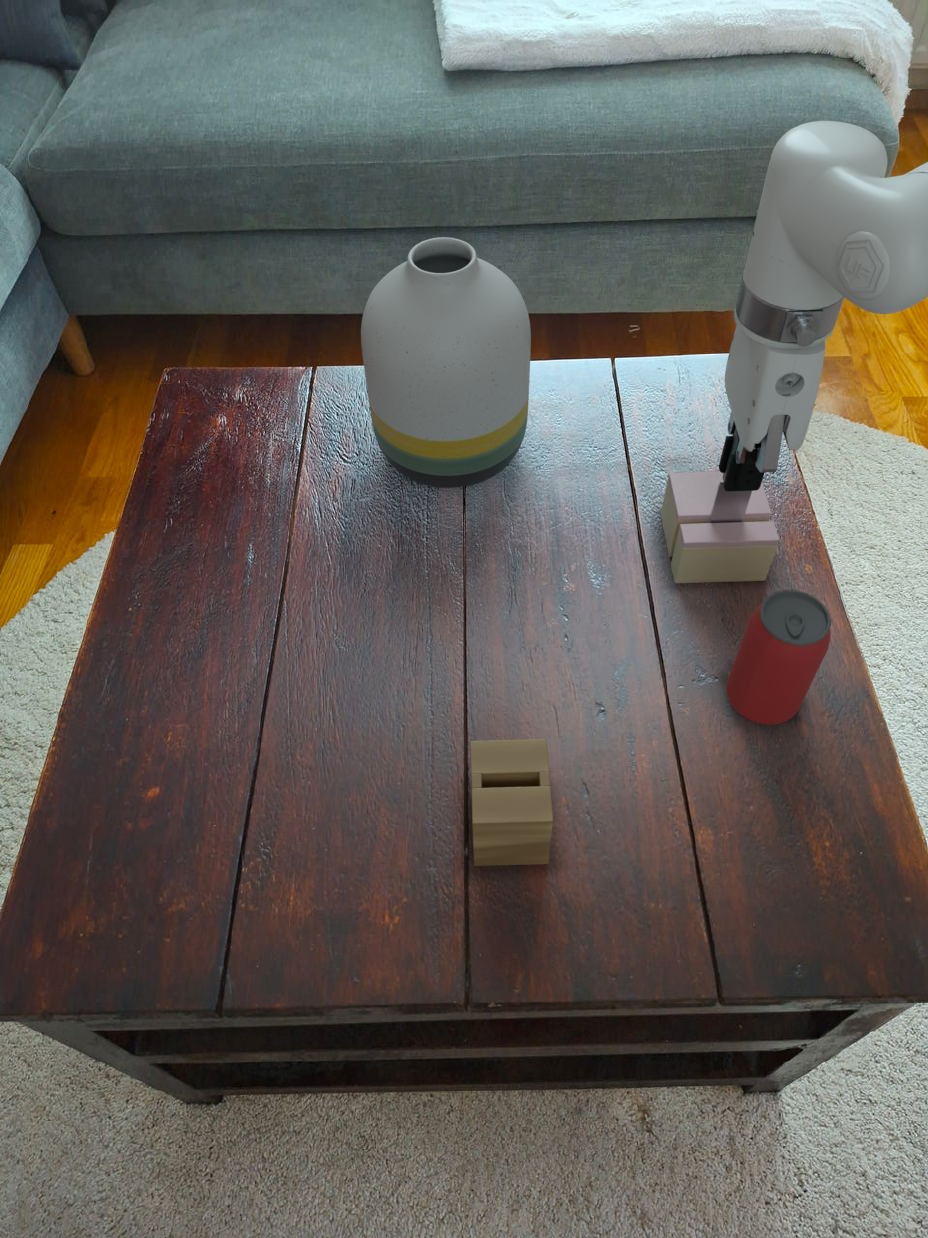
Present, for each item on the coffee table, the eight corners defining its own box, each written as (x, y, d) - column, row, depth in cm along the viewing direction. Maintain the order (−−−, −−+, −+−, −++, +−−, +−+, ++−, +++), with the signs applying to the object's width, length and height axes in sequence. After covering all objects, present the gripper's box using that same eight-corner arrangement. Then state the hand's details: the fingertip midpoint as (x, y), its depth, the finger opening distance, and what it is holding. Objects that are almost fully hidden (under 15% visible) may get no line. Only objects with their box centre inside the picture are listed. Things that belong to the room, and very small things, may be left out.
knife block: (548, 864, 75) (553, 821, 69) (474, 866, 76) (472, 823, 69) (542, 786, 80) (546, 738, 73) (472, 788, 80) (470, 740, 73)
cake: (757, 554, 95) (771, 513, 90) (669, 557, 95) (678, 515, 90) (746, 511, 99) (758, 469, 94) (660, 514, 99) (668, 472, 94)
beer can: (722, 720, 83) (751, 640, 74) (727, 661, 87) (756, 577, 78) (798, 734, 82) (838, 655, 73) (800, 674, 86) (838, 591, 76)
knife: (733, 560, 93) (771, 438, 81) (701, 561, 93) (734, 439, 81) (730, 548, 94) (767, 425, 82) (699, 549, 94) (730, 427, 82)
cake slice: (765, 581, 93) (780, 540, 88) (674, 583, 93) (684, 542, 88) (760, 561, 94) (774, 520, 90) (670, 564, 94) (679, 523, 90)
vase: (376, 406, 110) (351, 211, 91) (519, 398, 111) (524, 202, 92) (376, 509, 100) (348, 314, 81) (534, 500, 100) (543, 303, 81)
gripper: (866, 366, 66) (799, 542, 81) (812, 244, 76) (761, 421, 90) (760, 369, 66) (712, 544, 81) (719, 247, 76) (683, 423, 90)
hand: (738, 478), depth 85 cm, fingers closed on knife, 1 cm apart
